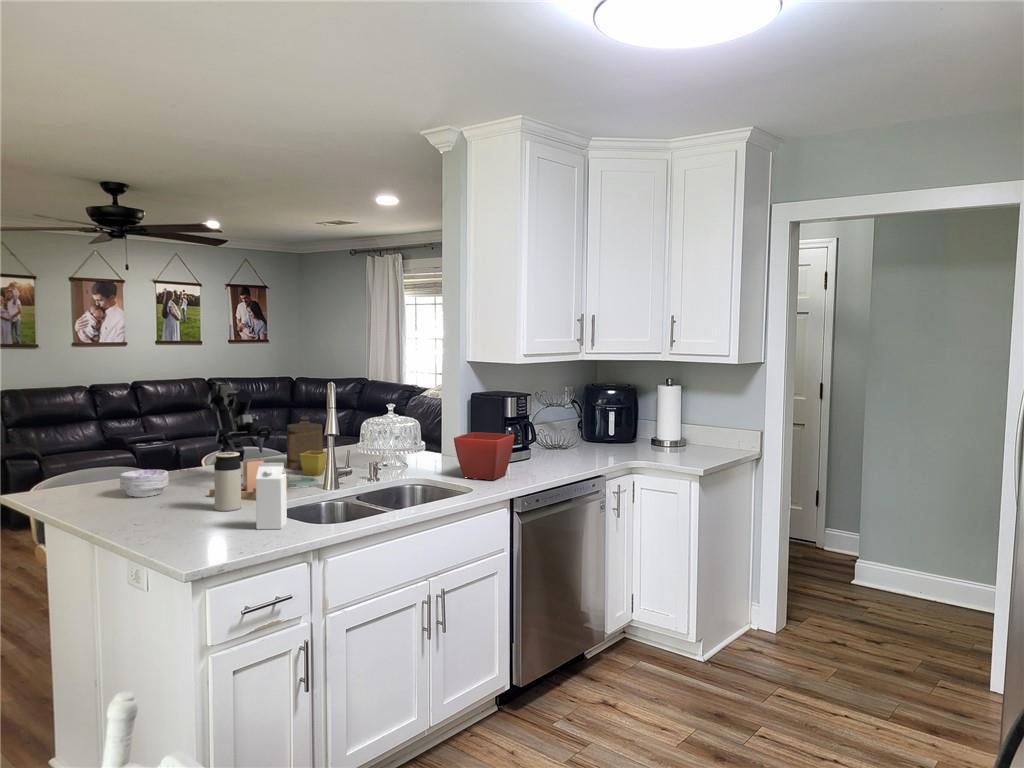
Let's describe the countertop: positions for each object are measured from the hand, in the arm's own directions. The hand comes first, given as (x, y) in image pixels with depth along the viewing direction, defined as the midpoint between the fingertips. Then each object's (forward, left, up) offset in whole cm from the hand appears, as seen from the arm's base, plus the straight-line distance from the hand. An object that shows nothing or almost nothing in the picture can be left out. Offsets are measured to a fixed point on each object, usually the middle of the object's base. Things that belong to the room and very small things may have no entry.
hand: (248, 453), depth 266 cm
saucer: (+12, +14, -13) cm, 23 cm away
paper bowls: (-30, -17, -14) cm, 37 cm away
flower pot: (+8, +33, -14) cm, 36 cm away
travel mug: (+10, -27, -14) cm, 32 cm away
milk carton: (+36, -43, -14) cm, 57 cm away
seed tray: (-1, -9, -13) cm, 16 cm away
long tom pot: (+5, -5, -13) cm, 15 cm away
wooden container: (-4, +47, -14) cm, 49 cm away
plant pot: (+75, +48, -14) cm, 90 cm away
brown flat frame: (+3, -4, -13) cm, 14 cm away
